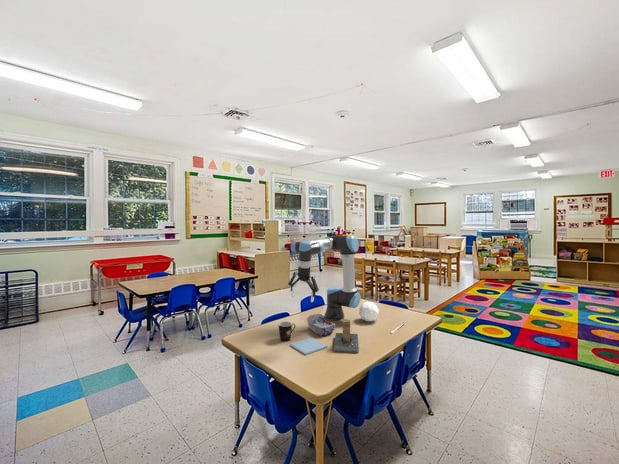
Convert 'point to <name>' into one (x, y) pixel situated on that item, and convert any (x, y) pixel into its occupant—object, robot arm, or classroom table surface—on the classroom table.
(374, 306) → the geometric sphere
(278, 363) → the classroom table surface
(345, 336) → the walnut peg
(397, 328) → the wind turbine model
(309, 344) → the blue board
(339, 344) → the socket block
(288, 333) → the coffee mug
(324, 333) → the cell model
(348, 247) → the robot arm
